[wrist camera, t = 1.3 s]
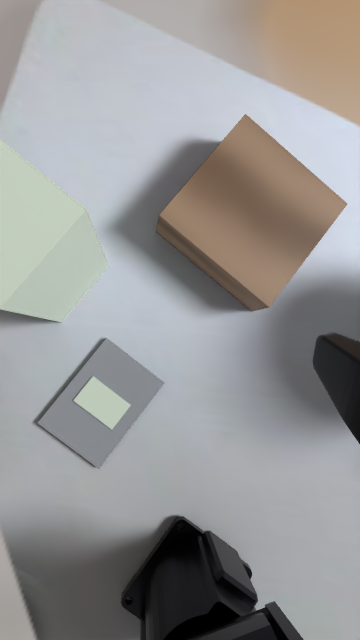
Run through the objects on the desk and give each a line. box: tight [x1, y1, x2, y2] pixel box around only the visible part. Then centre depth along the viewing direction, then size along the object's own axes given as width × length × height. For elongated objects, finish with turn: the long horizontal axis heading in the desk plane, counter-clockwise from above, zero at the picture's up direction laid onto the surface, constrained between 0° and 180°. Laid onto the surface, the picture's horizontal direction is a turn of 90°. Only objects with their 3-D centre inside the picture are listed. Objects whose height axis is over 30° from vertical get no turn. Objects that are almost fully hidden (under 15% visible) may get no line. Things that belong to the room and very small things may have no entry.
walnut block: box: [156, 114, 347, 311], centre depth 23 cm, size 9×9×4 cm
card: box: [38, 338, 164, 469], centre depth 22 cm, size 7×5×1 cm
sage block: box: [0, 140, 109, 322], centre depth 17 cm, size 5×5×10 cm
